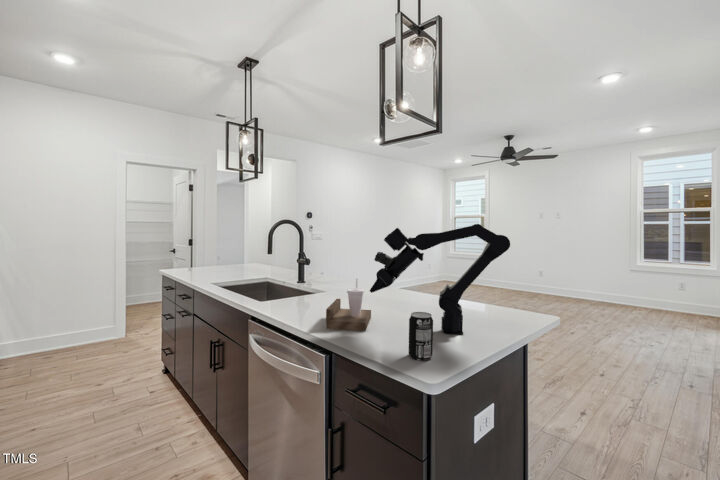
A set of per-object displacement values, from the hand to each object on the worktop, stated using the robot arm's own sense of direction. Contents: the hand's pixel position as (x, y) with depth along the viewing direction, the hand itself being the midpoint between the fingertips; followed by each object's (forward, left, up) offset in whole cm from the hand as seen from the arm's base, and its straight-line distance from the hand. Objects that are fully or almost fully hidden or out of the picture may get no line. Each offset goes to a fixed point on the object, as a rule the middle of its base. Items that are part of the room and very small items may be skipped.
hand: (373, 289), depth 123 cm
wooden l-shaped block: (+9, -1, -13) cm, 16 cm away
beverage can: (-16, +28, -13) cm, 35 cm away
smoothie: (+7, 0, -10) cm, 12 cm away
